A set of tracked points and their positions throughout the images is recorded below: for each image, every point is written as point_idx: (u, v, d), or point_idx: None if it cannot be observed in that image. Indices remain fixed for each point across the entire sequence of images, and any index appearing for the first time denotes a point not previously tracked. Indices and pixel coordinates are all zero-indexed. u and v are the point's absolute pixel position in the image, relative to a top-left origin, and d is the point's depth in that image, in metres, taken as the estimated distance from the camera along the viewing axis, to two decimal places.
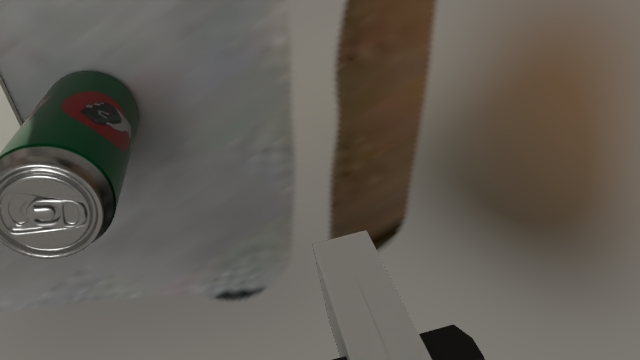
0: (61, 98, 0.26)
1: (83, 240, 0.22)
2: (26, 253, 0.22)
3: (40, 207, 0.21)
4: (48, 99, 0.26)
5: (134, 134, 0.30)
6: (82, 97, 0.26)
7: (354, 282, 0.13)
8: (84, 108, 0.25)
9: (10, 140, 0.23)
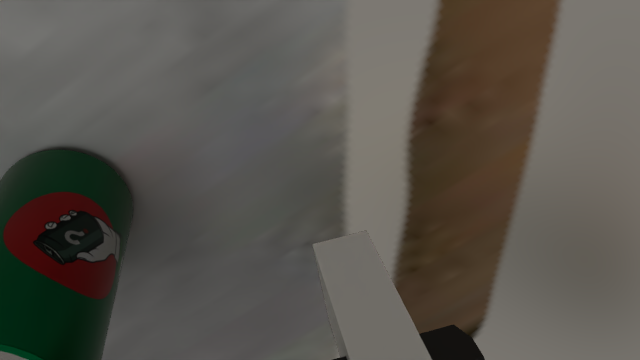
0: (9, 211, 0.16)
1: None
2: None
3: None
4: None
5: (125, 244, 0.20)
6: (41, 208, 0.17)
7: (354, 282, 0.13)
8: (43, 233, 0.16)
9: None
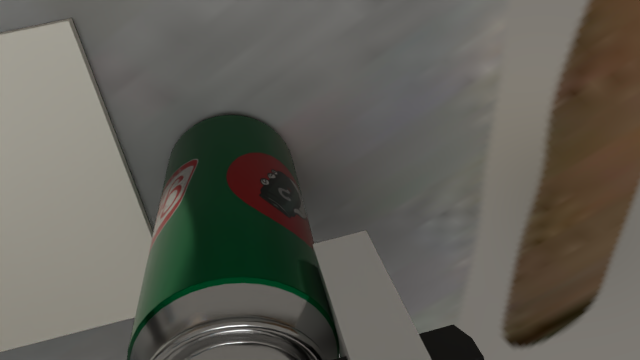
0: (221, 167, 0.17)
1: None
2: None
3: None
4: (197, 167, 0.17)
5: None
6: (249, 165, 0.17)
7: (354, 282, 0.13)
8: (262, 188, 0.16)
9: (164, 251, 0.14)
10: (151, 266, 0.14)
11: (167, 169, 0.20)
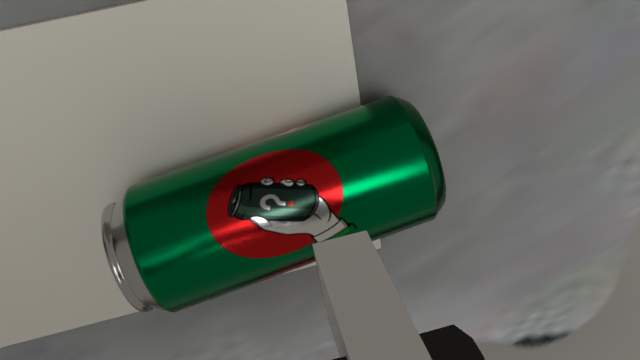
0: (276, 147, 0.19)
1: None
2: None
3: None
4: (288, 133, 0.20)
5: (371, 232, 0.19)
6: (287, 161, 0.19)
7: (354, 282, 0.13)
8: (253, 183, 0.18)
9: (188, 166, 0.21)
10: None
11: None
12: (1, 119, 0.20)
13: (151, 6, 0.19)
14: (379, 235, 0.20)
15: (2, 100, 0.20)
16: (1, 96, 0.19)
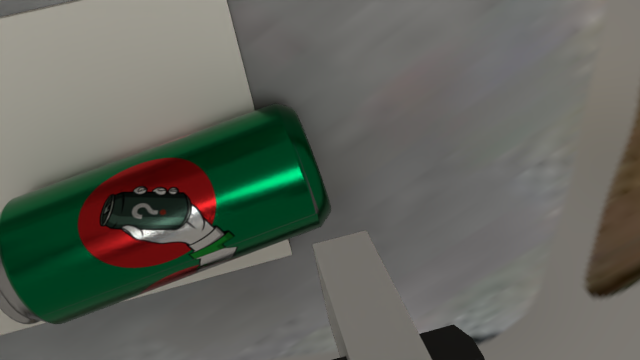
0: (154, 156, 0.19)
1: None
2: None
3: None
4: (170, 142, 0.20)
5: (251, 239, 0.19)
6: (162, 170, 0.19)
7: (354, 282, 0.13)
8: (126, 192, 0.18)
9: None
10: None
11: None
12: None
13: (26, 19, 0.19)
14: (262, 243, 0.20)
15: None
16: None
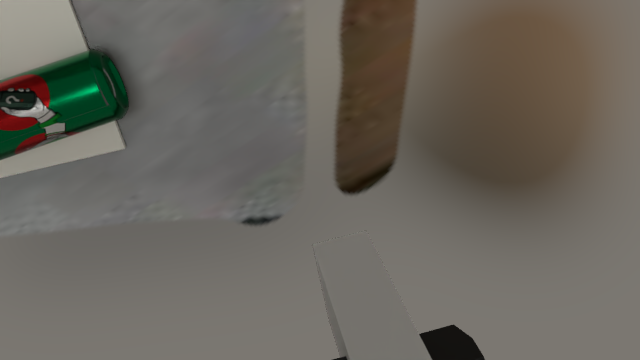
0: (22, 74, 0.36)
1: None
2: None
3: None
4: None
5: (72, 119, 0.36)
6: (23, 80, 0.36)
7: (354, 282, 0.13)
8: (4, 90, 0.35)
9: None
10: None
11: None
12: None
13: None
14: (80, 122, 0.37)
15: None
16: None
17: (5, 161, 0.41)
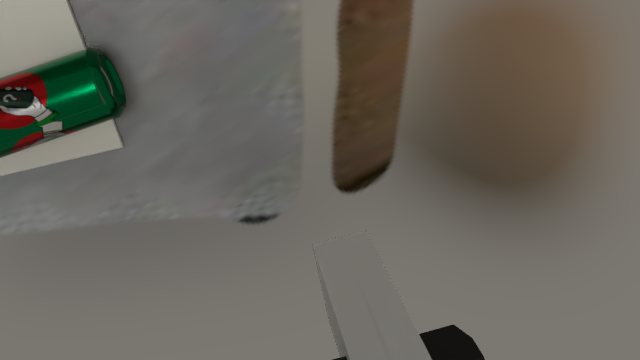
0: (19, 72, 0.36)
1: None
2: None
3: None
4: (31, 67, 0.37)
5: (70, 117, 0.36)
6: (20, 78, 0.36)
7: (354, 282, 0.13)
8: (1, 89, 0.35)
9: None
10: None
11: None
12: None
13: None
14: (77, 121, 0.37)
15: None
16: None
17: (3, 160, 0.41)
